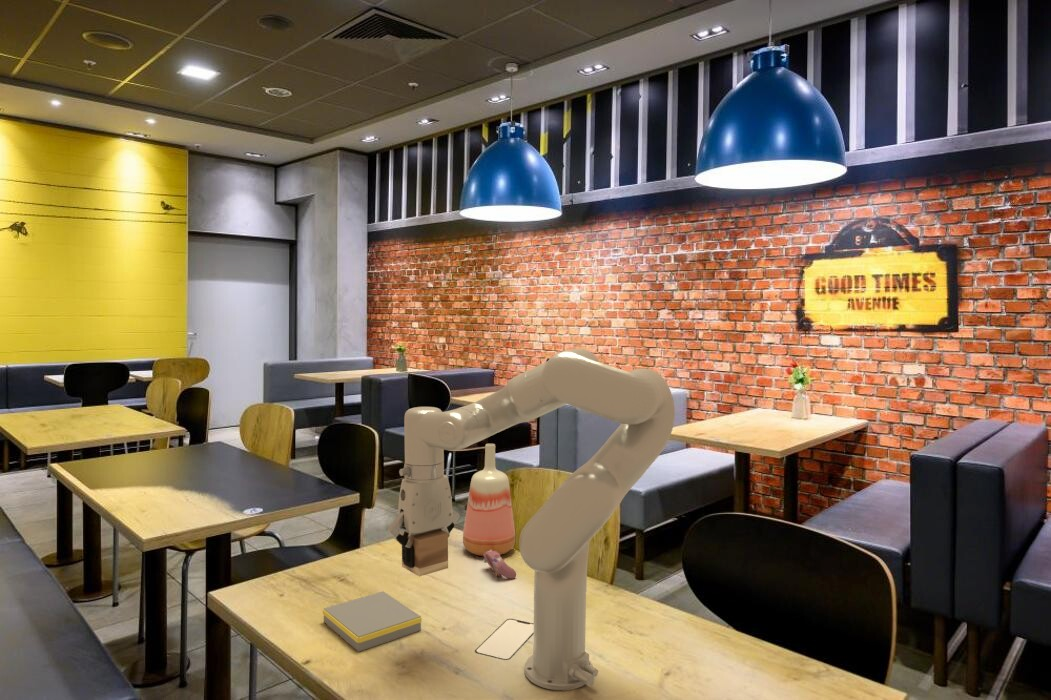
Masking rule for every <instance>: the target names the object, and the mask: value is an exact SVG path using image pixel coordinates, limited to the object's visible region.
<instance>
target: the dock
mask: <svg viewBox="0 0 1051 700" xmlns="http://www.w3.org/2000/svg"><path fill="white" fill-rule="evenodd" d="M322 615H323V623H324V622H325V623H326V624H327V625H326V624H325V623H324V624H325V625H326V626H328V627H329V629H331V630H332V629H333V630H334V633H336V635H338V636H339V635H340V636H339V637H340V638H341V639H342V640H344V641H345V642H346V643H347V644H348V645H350V646H351V647H352V648H354V649H355V650H356V651H357V652H362V651H366V650H367V649H370V648H374V647H376V646H379V645H382V644H386V643H388V642H391V641H394V640H397V639H400V638H403V637H406V636H408V635H412V634H415V633H418V632H420V631H421V630H422V616H421V615H420V614H418V613H416V612H415V611H414V610H412V609H410V608H409V607H408V606H406V605H404V604H403V603H401V602H400V601H399V600H397V599H396V598H394V597H393V596H391V595H390V594H388V593H387V592H386V591H384V590H383V591H382V590H381V591H380V592H376V593H372V594H368V595H366V596H362V597H359V598H358V597H357V598H355V599H352V600H348V601H344V602H342V603H341V602H340V603H337V604H335V605H331V606H328V607H324V608H323V609H322ZM333 630H332V631H333Z"/></svg>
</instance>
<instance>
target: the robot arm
mask: <svg viewBox="0 0 1051 700" xmlns="http://www.w3.org/2000/svg"><path fill="white" fill-rule="evenodd" d="M566 405H568V406H571V407H574V408H576V409H579V410H582V411H584V412H587V413H590V414H593V415H595V416H599V417H601V418H605V419H607V420H610V421H613V422H615V423H619V424H620V425H619V426H618V427H617V428H616V429H615V431H614V432H613V433H612V434H611V435H610V437H608V439H607V440H606V441H605V442H604V444H603V445H602V446H601V447H600V448H599V450H598V451H597V452H596V453H595V454H593V456H592V457H590V459H589V460H588V461H586V462H585V463H584V464H583V465H581V466H579V468H577V469H576V470H575V471H574V472H572V473H571V474H570V475H569V476H568V477H566V479H565V480H563V482H562V483H561V484H560V485H559V486H558V487H557V488H556V489H555V491H554V492H553V493H552V494H551V495H550V496H549V497H548V499H547V500H546V501H545V502H544V503H543V505H542V506H541V507H540V508H539V509H538V510H537V512H535V514H534V515H533V516H532V517H531V518H530V519H529V520H528V521H527V523H526V524H525V525H524V526H523V528H522V530H521V533H520V536H519V542H518V543H519V545H518V546H519V552H520V556H521V558H522V560H523V562H524V563H525V564H526V565H527V567H529V568H530V569H531V570H534V576H533V578H534V585H533V586H534V587H533V623H534V634H533V635H532V636H533V639H532V640H533V641H532V643H533V644H532V645H533V647H532V648H533V650H532V651H533V652H532V654H531V656H530V657H529V656H528V658H527V659H526V660H525V663H524V675H525V676H526V677H527V680H529V681H530V682H531V683H532V684H534V685H536V686H538V687H541V688H543V689H547V690H551V691H568V690H569V691H571V690H574V689H579V688H582V687H583V686H587V687H591V686H593V685H594V682H595V678H596V677H597V676H598V674H599V670H598V669H597V668H596V667H594V666H593V663H592V662H591V661H590V653H588V652H586V621H587V620H586V617H587V616H586V614H587V612H586V610H587V585H588V584H587V582H588V581H587V580H588V579H587V577H588V562H589V551H590V542H591V540H592V538H594V537H595V535H596V534H597V533H598V532H599V531H601V528H603V526H604V525H605V524H606V523H607V522H608V521H609V520H610V518H611V517H612V516H613V514H614V513H615V512H616V510H617V509H618V508H619V506H620V504H621V503H622V501H623V499H624V498H625V497H626V495H627V494H628V492H629V491H630V490H631V489H632V488H633V487H634V485H635V484H636V483H637V482H639V480H640V479H641V478H642V477H643V475H644V474H645V473H646V472H647V470H648V469H649V468H650V467H651V466H652V465H653V463H654V462H655V461H656V459H658V457H659V456H660V454H661V453H662V452H663V451H664V449H665V447H666V446H667V444H668V441H669V440H670V437H671V434H672V432H673V429H674V425H675V424H674V423H675V419H676V417H675V415H676V413H675V412H676V408H675V401H674V398H673V394H672V391H671V389H670V386H669V385H668V382H667V381H666V380H665V379H664V377H663V376H662V375H661V374H660V373H659V372H656V371H655V370H652V369H648V368H635V369H632V370H629V371H627V370H624V369H622V368H621V369H620V368H618V367H614V366H611V365H608V364H605V363H602V362H600V360H599V358H598V357H597V356H596V355H595V353H593V352H592V351H590V350H588V349H584V348H573V349H568V350H562V351H559V352H557V353H556V354H554V355H552V356H551V357H550V358H549V359H548V360H547V361H546V362H543V363H541V364H539V365H536V366H535V367H533V368H531V369H529V370H527V371H524V372H522V373H520V374H517V375H516V376H513V377H512V378H510V379H509V380H508V382H507V383H506V385H505V386H504V387H501V389H499V390H496V391H494V392H493V393H491V394H490V395H489V394H488V395H487V396H485V397H483V398H480V399H478V400H477V401H474V402H472V403H470V404H467V405H464V406H461V407H457V408H454V409H451V410H446V411H443V410H441V408H438V407H435V406H417V407H412V408H409V409H408V410H406V411H405V413H404V422H403V423H404V427H403V428H404V429H403V430H404V463H403V464H404V465H403V468H400V469H399V471H398V473H399V476H400V477H404V478H402V480H401V483H400V491H399V494H398V495H399V496H398V507H397V509H398V510H397V517H395V518H394V520H393V521H392V523H391V524H390V525H389V526H388V528H387V531H386V532H387V533H388V534H389V535H390V536H391V537H393V539H394V540H395V541H397V542H398V543H399V544H400V545H401V562H402V561H403V563H404V565H406V566H408V567H410V568H413V567H414V566H415V556H414V547H412V544H413V541H414V538H415V535H416V534H420V533H425V532H429V531H433V530H437V529H440V530H441V531H445V532H447V533H448V539H449V538H450V536H451V535H450V533H451V532H452V530H454V528H455V525H456V523H457V521H458V520H459V519H460V517H461V515H460V513H458V512H457V511H456V510H455V509H454V508H453V500H452V493H451V492H452V491H451V486H450V482H449V481H450V480H449V476H447V475H446V474H445V454H444V453H445V452H444V451H451V452H456V451H461V450H463V449H466V448H468V447H469V446H472V445H474V444H476V443H479V442H481V441H484V440H485V439H488V438H490V437H491V436H494V435H496V434H497V433H500V432H502V431H505V430H506V429H507V430H508V429H509V428H511V427H513V426H516V425H518V424H520V423H528V422H531V421H533V420H536V419H538V418H539V417H542V416H544V415H546V414H548V413H551V412H553V411H555V410H557V409H559V408H562V407H563V406H566ZM399 529H400V530H402V531H403V533H402V532H401V533H400V532H399Z"/></svg>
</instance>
